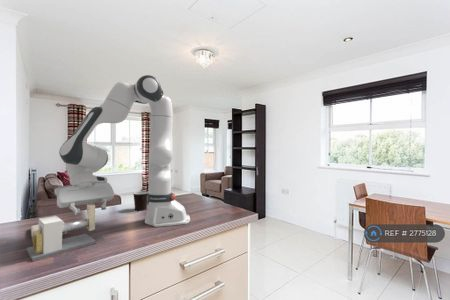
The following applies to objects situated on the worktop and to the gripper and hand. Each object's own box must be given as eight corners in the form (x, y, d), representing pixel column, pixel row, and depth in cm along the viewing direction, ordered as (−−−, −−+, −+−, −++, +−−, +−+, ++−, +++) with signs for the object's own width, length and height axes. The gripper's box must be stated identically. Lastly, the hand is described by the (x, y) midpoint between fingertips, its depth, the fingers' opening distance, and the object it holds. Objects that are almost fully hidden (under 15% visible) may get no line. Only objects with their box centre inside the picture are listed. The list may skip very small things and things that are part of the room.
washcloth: (31, 243, 85) (31, 235, 85) (29, 230, 98) (29, 223, 98) (69, 235, 93) (69, 228, 93) (62, 224, 106) (62, 218, 106)
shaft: (92, 227, 90) (92, 203, 90) (94, 229, 88) (95, 204, 88) (44, 239, 78) (44, 210, 78) (46, 241, 76) (46, 212, 76)
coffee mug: (135, 207, 137) (135, 191, 137) (149, 207, 137) (150, 191, 137) (129, 212, 125) (129, 195, 125) (144, 212, 126) (144, 195, 126)
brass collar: (38, 247, 78) (38, 229, 78) (42, 252, 74) (42, 234, 74) (32, 248, 77) (33, 231, 77) (36, 254, 73) (36, 235, 73)
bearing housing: (85, 235, 92) (86, 209, 92) (95, 243, 84) (96, 214, 84) (26, 250, 78) (26, 219, 78) (32, 261, 70) (32, 227, 70)
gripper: (54, 181, 85) (61, 212, 78) (110, 177, 100) (119, 202, 94) (51, 191, 88) (57, 221, 81) (106, 185, 103) (115, 210, 97)
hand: (91, 211), depth 88 cm, fingers open, 8 cm apart
